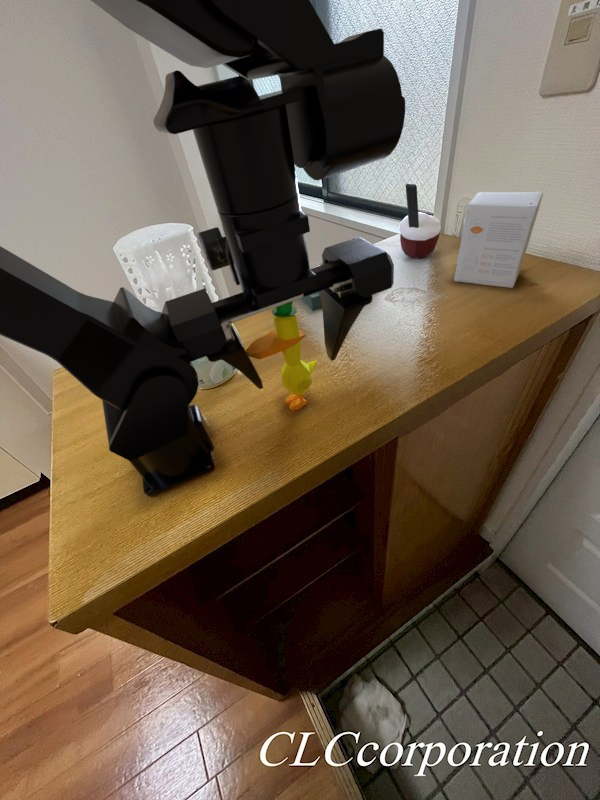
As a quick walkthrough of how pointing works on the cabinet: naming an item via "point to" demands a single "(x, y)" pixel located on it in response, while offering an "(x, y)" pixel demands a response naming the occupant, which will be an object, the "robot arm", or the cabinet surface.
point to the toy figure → (286, 353)
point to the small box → (496, 237)
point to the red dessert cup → (418, 228)
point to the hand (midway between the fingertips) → (296, 371)
